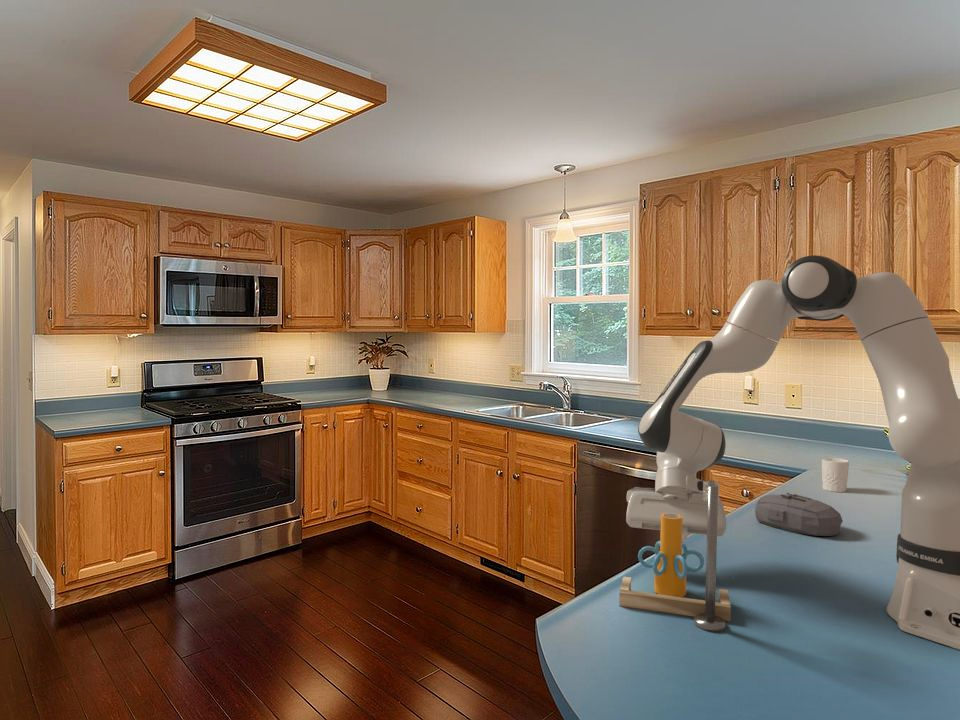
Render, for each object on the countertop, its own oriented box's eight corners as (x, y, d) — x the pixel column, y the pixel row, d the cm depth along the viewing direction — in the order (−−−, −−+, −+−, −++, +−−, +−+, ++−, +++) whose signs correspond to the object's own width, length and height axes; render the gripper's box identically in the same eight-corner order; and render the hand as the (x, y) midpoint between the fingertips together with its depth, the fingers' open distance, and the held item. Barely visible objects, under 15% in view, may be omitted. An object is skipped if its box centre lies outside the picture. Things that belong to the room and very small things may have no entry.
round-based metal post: (693, 603, 115) (696, 475, 114) (722, 607, 113) (725, 477, 112) (694, 629, 104) (698, 488, 104) (726, 633, 103) (730, 491, 102)
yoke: (623, 589, 121) (623, 576, 121) (727, 602, 115) (727, 589, 115) (619, 605, 113) (619, 592, 113) (730, 621, 107) (730, 607, 107)
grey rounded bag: (748, 523, 165) (828, 543, 150) (749, 493, 165) (829, 509, 150) (774, 514, 175) (852, 531, 159) (775, 485, 175) (853, 499, 159)
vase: (661, 576, 128) (663, 504, 127) (710, 591, 120) (712, 515, 119) (628, 592, 119) (630, 516, 119) (678, 610, 112) (680, 528, 111)
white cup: (848, 489, 205) (849, 459, 204) (847, 494, 198) (848, 463, 198) (821, 485, 209) (822, 456, 209) (819, 490, 202) (820, 460, 202)
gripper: (626, 478, 137) (622, 535, 128) (725, 486, 130) (728, 547, 122) (627, 493, 141) (623, 550, 132) (723, 502, 135) (725, 561, 126)
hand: (674, 548), depth 127 cm, fingers closed
